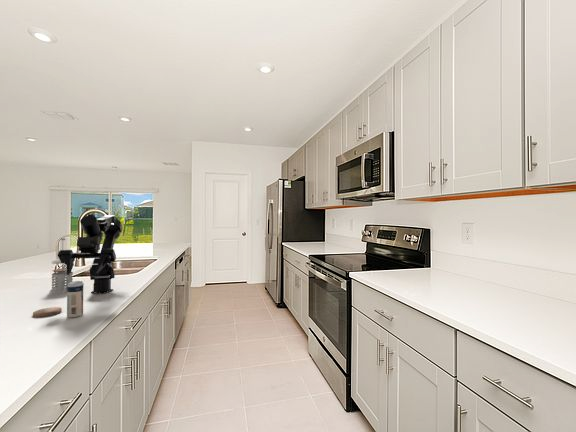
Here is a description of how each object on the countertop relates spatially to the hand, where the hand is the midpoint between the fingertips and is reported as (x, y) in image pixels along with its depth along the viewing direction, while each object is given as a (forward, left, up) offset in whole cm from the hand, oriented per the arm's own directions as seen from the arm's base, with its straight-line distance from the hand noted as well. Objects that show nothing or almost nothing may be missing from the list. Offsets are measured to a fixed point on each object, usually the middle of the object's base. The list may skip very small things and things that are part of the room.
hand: (82, 273), depth 108 cm
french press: (-20, -33, -14) cm, 41 cm away
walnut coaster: (+7, -8, -13) cm, 17 cm away
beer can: (+7, +4, -14) cm, 16 cm away
